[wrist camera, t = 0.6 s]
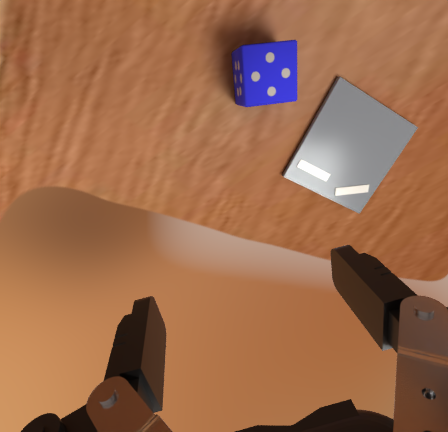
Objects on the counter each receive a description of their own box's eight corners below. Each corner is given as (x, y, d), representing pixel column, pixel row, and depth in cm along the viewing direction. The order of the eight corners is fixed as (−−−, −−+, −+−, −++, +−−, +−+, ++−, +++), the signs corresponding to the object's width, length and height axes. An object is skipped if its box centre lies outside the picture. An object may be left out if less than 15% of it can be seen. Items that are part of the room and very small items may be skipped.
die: (279, 46, 30) (297, 39, 26) (280, 99, 32) (297, 100, 28) (231, 51, 30) (241, 45, 25) (235, 104, 32) (245, 107, 27)
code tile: (337, 77, 32) (340, 76, 31) (414, 126, 36) (418, 127, 35) (281, 175, 36) (283, 177, 35) (356, 211, 39) (359, 213, 38)
